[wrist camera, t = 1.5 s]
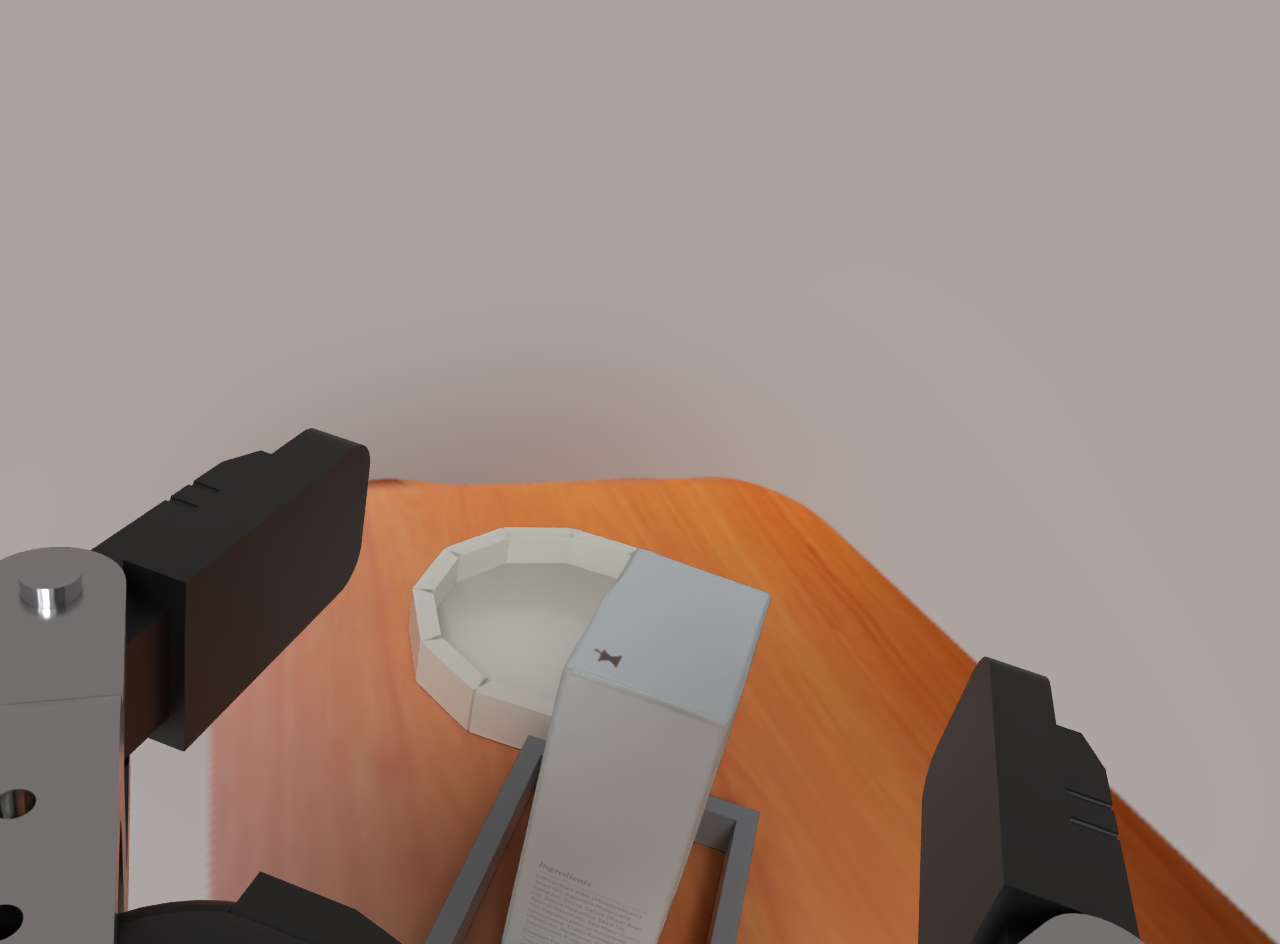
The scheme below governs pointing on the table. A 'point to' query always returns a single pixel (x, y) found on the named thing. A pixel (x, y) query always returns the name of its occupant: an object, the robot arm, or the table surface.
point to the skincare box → (633, 754)
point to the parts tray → (717, 828)
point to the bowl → (507, 623)
